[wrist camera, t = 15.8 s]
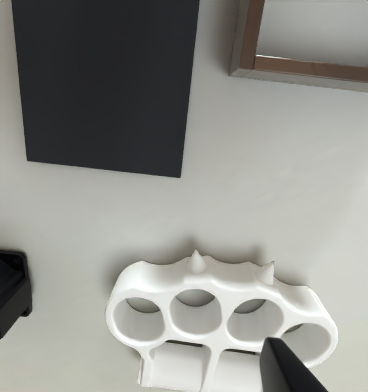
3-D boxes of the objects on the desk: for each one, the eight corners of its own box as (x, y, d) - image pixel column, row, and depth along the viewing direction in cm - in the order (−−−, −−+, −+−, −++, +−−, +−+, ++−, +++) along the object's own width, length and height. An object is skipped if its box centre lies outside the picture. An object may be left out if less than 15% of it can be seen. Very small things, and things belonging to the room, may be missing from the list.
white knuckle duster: (110, 357, 26) (121, 226, 21) (287, 383, 26) (339, 260, 21) (98, 393, 23) (108, 248, 18) (301, 421, 23) (366, 287, 18)
